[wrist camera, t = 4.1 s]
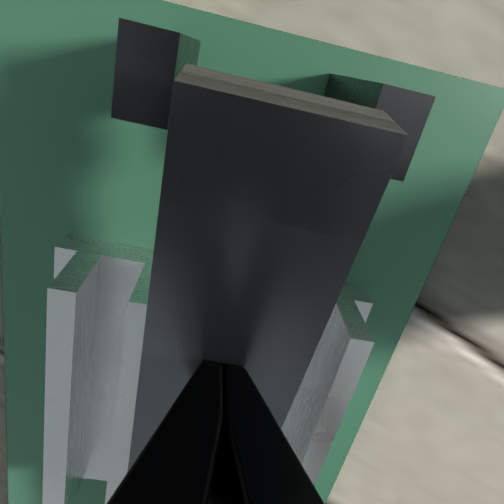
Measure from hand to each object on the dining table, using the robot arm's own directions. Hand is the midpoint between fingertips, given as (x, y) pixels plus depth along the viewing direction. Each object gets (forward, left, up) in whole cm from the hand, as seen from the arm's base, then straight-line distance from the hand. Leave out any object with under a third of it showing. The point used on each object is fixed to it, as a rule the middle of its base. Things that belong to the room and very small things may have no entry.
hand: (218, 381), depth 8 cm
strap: (-5, 0, -2) cm, 6 cm away
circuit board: (-6, 0, -8) cm, 9 cm away
